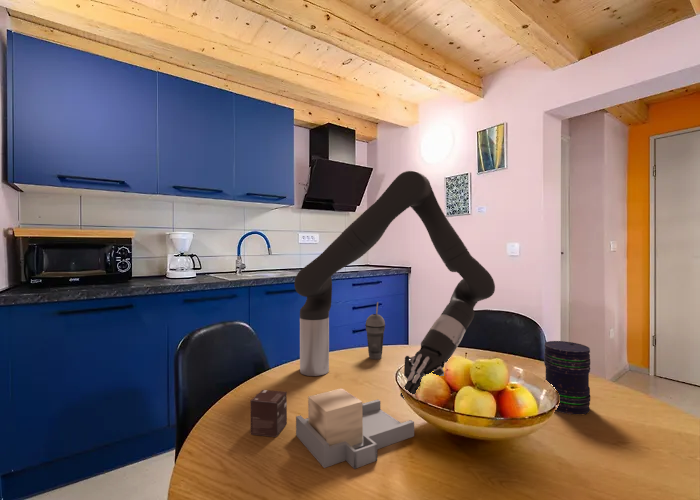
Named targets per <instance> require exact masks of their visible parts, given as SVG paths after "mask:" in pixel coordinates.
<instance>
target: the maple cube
mask: <svg viewBox="0 0 700 500" xmlns="http://www.w3.org/2000/svg"><path fill="white" fill-rule="evenodd" d="M307 399H308V400H307V404H308V406H307V407H308V408H307V410H308V411H307V412H308V415H307V416H308V417H307V418H308V423H309V424H310V425H311V426H312V427H313V428H314V430H315V431H316V432H317V433H318V434H319V435H320V436H321V437H322V438H323V439H324V440H325V441H326V442H327V443H328V444H329V446H331V445H334V444H338V443H341V442H344V441H346V442H347V443H348V444H349V445H350V446H353V445H356V444H359V443H362V442H363V415H362V404H363V401H362V400H361V399H359V398H358V397H356V396H354V395H353V394H352V393H350V392H348V391H347V390H346V389H344V388H343V387H342V388H337V389H333V390H330V391H324V392H321V393H317V394H314V395H309V396H308V397H307Z"/></svg>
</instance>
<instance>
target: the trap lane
mask: <svg viewBox="0 0 700 500" xmlns="http://www.w3.org/2000/svg"><path fill="white" fill-rule="evenodd" d="M362 415H363V442H362V443H359V444H356V445H353V446H350V445H349V444H348V443H347V442H346V441H344V442H341V443H338V444H334V445H331V446H329V444H328V443H327V442H326V441H325V440H324V439H323V438H322V437H321V436H320V435H319V434H318V433H317V432H316V431H315V430H314V428H313V427H312V426H311V425H310V424H309V423H308V417H306V418H304V417H303V416H302V415H296V416H295V436H296V437H297V439H298V440H299V441H300V442H301V443H302V444H303V446H305V448H306V449H307V450H308V451H309V453H311V455H312V456H313V457H314V458H315V459H316V460H317V462H318V463H319V464H320V466H321V467H323V469H326V468H329V467H331V466H334V465H336V464H340V463H342V462H345V461H346V462H347V463H348V464H349V465H350V467H352V468H353V469H354V470H356V469H358V468H361V467H363V466H367V465H368V464H369V465H370V464H371V463H374V462H376V461H378V450H379V449H382V448H386V447H388V446H390V445H393V444H396V443H400V442H402V441H404V440H407V439H411V438H413V437H415V421H413V419H412V420H411V419H410V420H407V421H404V422H401V421H400V420H397V419H396V418H395V417H393V416H391V415H390V414H388V413H387V412H385V411H383V410H382V409H381V400H380V399H375V400H374V399H373V400H371V401H366V402H362Z"/></svg>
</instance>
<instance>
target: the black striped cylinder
mask: <svg viewBox="0 0 700 500" xmlns="http://www.w3.org/2000/svg"><path fill="white" fill-rule="evenodd" d="M590 353H591V348H590V347H589V346H586V345H585V344H581V343H577V342H572V341H564V340H550V341H545V342H544V353H543V354H544V355H543V358H544V366H545V380H547V381H548V382H549V383H550V384H552V385H553V387H555V389H556V390H557V391H558V393H559V395H560V403H559V406H558V408H557V410H555V412H558V413H562V414H566V413H567V414H566V415H571V414H585V415H587V414H586V413H588V412H589V411H590V412H591V409H590V408H591V407H590V405H591V391H590V390H591V388H590V385H589V384H590V381H589V380H590V378H589V377H590V375H589V374H590V372H591V354H590ZM590 412H589V413H590ZM589 413H588V414H589Z"/></svg>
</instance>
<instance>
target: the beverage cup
mask: <svg viewBox="0 0 700 500" xmlns="http://www.w3.org/2000/svg"><path fill="white" fill-rule="evenodd" d="M378 308H379V301H377V302H376V309H375V313H372V314H370V315H369V316H368V317H367V318H366V321H365V325H364V327H365V332H366V338H367V340H366V341H367V350H368V358H369V359H371V360H380V359H382V356H383V346H384V337H385V336H384V335H385V333H384V332H385V329H386V321H385V319H384V318H383V316H382V315H380V314H378V311H379V309H378Z"/></svg>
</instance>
